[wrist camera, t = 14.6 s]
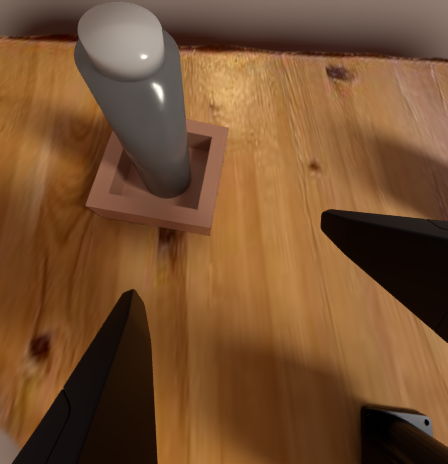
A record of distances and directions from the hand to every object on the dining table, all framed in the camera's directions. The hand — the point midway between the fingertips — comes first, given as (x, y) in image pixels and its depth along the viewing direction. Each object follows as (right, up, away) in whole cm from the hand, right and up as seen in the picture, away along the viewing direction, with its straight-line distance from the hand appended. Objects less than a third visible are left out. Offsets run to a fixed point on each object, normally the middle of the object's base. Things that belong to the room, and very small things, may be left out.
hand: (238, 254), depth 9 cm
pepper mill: (-7, +7, +13) cm, 16 cm away
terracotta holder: (-7, +7, +13) cm, 16 cm away
